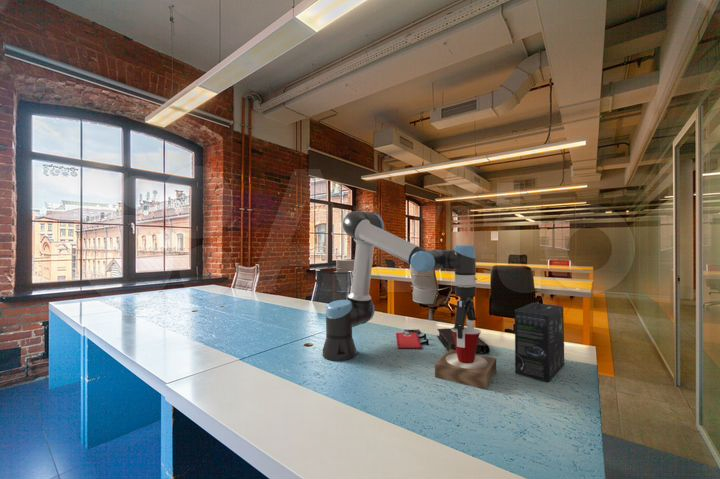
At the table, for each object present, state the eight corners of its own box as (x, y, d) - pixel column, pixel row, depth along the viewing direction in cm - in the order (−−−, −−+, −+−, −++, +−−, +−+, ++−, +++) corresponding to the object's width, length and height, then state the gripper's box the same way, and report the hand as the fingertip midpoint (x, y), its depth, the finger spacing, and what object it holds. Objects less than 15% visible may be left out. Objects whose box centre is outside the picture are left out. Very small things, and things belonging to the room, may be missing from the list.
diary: (471, 338, 162) (471, 328, 162) (489, 355, 137) (490, 344, 137) (435, 337, 163) (435, 328, 163) (447, 355, 138) (447, 343, 138)
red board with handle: (422, 331, 173) (395, 331, 174) (422, 326, 173) (395, 326, 174) (430, 350, 143) (398, 350, 144) (430, 344, 143) (397, 344, 144)
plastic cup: (482, 357, 120) (481, 326, 120) (480, 368, 110) (480, 334, 110) (453, 353, 124) (452, 323, 124) (449, 363, 114) (448, 330, 114)
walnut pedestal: (435, 377, 115) (434, 363, 115) (450, 361, 130) (450, 348, 130) (486, 389, 105) (486, 374, 105) (496, 370, 119) (496, 357, 119)
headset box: (532, 357, 133) (531, 297, 133) (565, 365, 124) (564, 300, 124) (513, 373, 117) (512, 305, 117) (549, 383, 109) (548, 310, 109)
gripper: (466, 291, 105) (467, 353, 105) (483, 282, 125) (483, 334, 125) (444, 289, 109) (445, 349, 109) (464, 281, 130) (465, 331, 130)
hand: (466, 341), depth 117 cm, fingers open, 13 cm apart
